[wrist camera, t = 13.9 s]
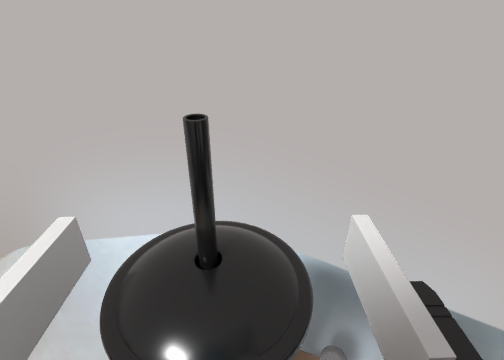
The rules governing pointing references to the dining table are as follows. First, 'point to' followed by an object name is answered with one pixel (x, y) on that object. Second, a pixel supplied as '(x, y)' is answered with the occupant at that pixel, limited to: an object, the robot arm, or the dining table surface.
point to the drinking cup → (207, 285)
